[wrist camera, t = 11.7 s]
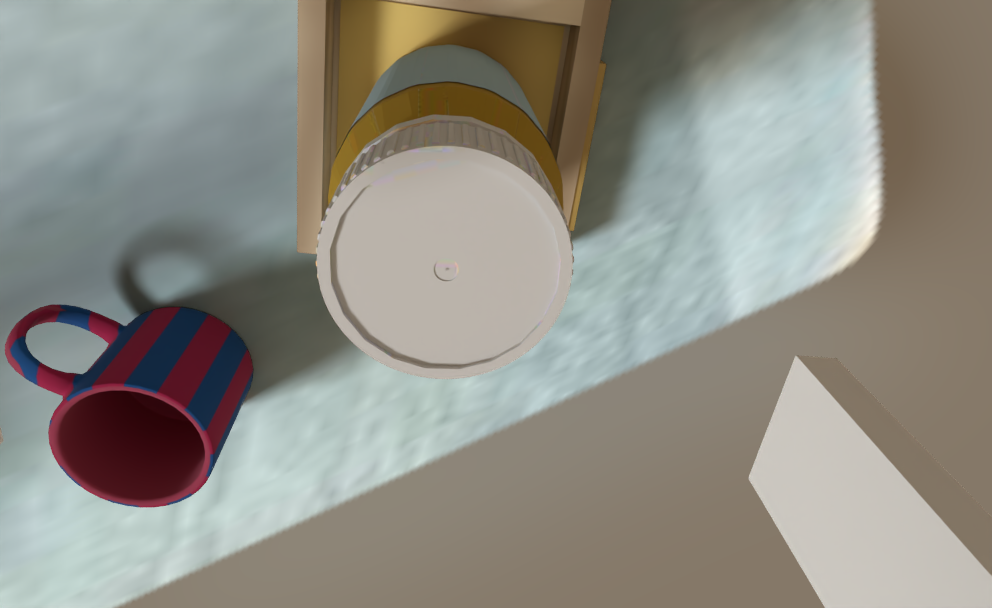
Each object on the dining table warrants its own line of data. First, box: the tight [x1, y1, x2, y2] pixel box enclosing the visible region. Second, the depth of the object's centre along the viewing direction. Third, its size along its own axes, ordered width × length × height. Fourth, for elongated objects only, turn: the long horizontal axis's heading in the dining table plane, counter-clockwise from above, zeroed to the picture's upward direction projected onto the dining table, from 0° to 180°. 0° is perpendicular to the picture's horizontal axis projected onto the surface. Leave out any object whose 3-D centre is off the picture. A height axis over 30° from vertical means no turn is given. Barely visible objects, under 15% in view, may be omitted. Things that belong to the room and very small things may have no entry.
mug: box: [5, 305, 253, 507], centre depth 32 cm, size 7×10×7 cm
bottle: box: [316, 43, 574, 379], centre depth 23 cm, size 7×7×15 cm
